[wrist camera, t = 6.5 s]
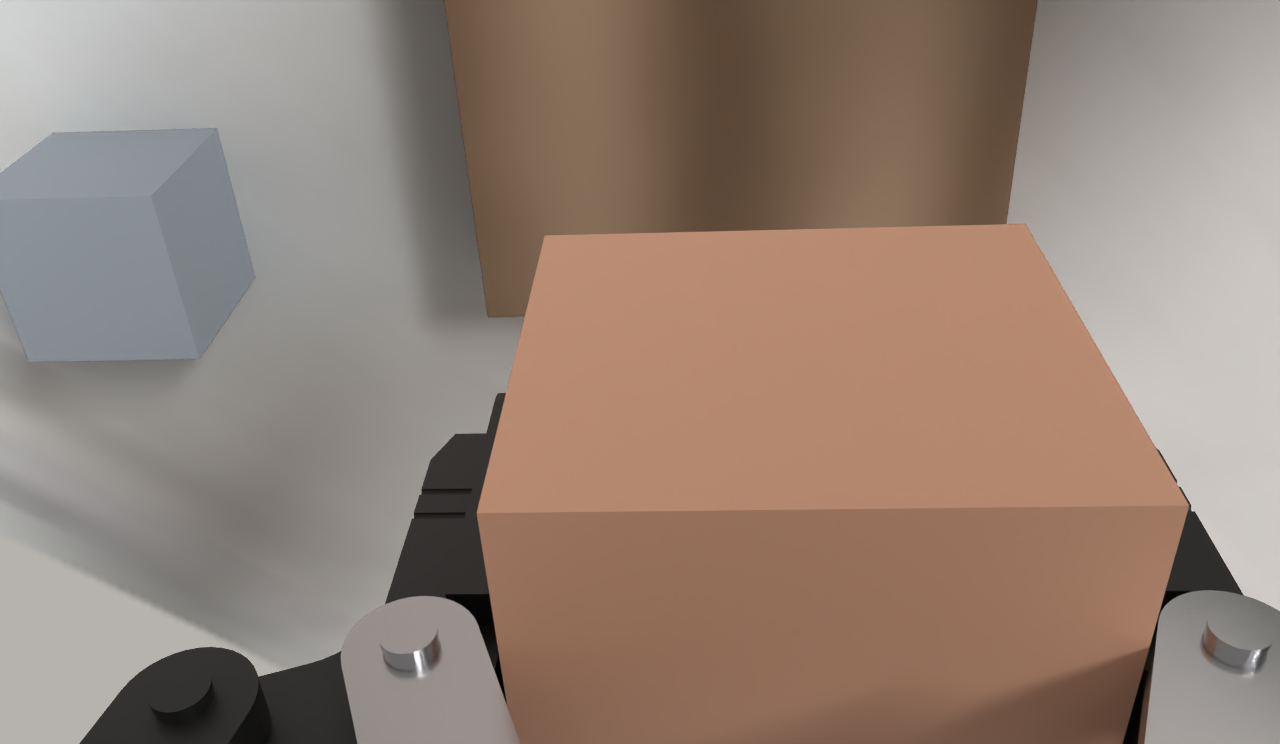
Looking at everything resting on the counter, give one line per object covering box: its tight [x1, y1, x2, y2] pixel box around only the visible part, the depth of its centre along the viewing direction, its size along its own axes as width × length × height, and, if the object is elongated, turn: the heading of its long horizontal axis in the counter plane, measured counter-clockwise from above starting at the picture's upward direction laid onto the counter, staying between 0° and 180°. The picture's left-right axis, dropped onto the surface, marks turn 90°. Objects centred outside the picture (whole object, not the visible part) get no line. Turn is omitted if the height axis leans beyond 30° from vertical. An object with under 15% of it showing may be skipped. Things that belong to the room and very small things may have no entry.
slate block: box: [0, 128, 255, 362], centre depth 30 cm, size 4×4×4 cm
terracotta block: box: [477, 224, 1189, 744], centre depth 12 cm, size 6×6×5 cm
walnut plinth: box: [444, 0, 1037, 317], centre depth 27 cm, size 13×12×3 cm
